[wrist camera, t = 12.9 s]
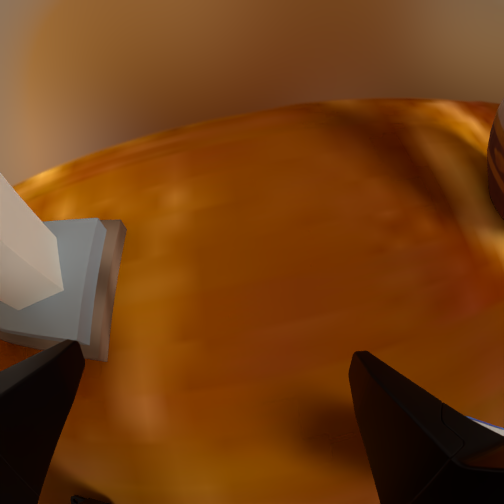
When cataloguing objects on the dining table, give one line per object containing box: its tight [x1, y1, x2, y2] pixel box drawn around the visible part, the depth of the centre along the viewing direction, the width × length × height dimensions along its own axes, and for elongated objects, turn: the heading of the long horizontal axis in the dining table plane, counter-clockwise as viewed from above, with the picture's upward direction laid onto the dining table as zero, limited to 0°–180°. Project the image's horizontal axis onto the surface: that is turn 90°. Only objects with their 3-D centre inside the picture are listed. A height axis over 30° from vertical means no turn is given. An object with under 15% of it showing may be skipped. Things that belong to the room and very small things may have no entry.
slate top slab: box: [0, 218, 107, 345], centre depth 21 cm, size 10×10×2 cm
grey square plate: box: [0, 220, 127, 362], centre depth 23 cm, size 12×12×2 cm
